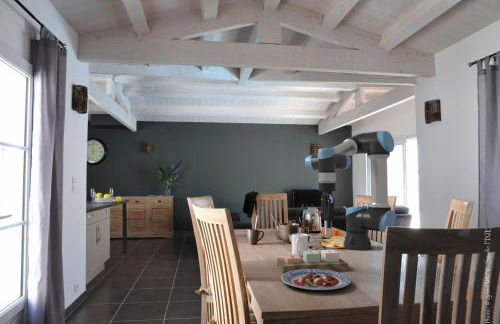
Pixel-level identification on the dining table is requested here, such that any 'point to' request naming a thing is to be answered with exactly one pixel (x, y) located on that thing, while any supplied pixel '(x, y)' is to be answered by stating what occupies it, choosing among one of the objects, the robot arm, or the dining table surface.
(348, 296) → the dining table surface
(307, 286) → the ceramic plate
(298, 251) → the cup
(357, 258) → the dining table surface
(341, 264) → the button board
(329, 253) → the tile one
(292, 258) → the tile three
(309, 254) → the tile two
